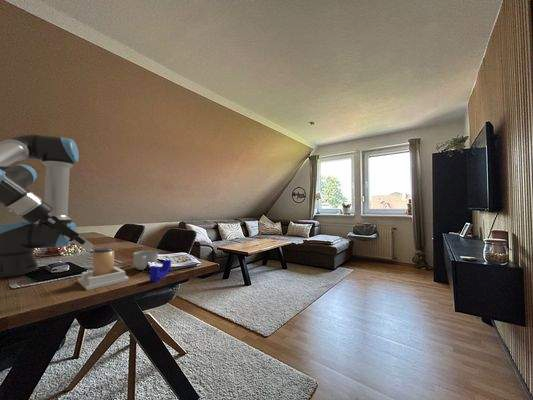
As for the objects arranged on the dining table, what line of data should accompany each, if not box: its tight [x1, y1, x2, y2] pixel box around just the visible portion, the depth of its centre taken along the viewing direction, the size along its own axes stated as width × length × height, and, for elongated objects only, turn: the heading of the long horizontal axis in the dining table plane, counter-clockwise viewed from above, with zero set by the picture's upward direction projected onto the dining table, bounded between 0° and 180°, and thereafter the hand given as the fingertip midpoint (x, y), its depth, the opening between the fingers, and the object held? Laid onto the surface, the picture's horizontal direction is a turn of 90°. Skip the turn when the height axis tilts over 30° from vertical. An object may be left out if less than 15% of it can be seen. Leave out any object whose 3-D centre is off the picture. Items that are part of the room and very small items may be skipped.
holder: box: [77, 265, 130, 291], centre depth 93 cm, size 14×14×4 cm
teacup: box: [132, 250, 159, 271], centre depth 110 cm, size 14×11×8 cm
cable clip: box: [149, 259, 172, 283], centre depth 99 cm, size 12×4×6 cm, turn 177°
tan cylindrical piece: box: [92, 246, 115, 277], centre depth 93 cm, size 7×7×12 cm
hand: (86, 246), depth 88 cm, fingers open, 13 cm apart
